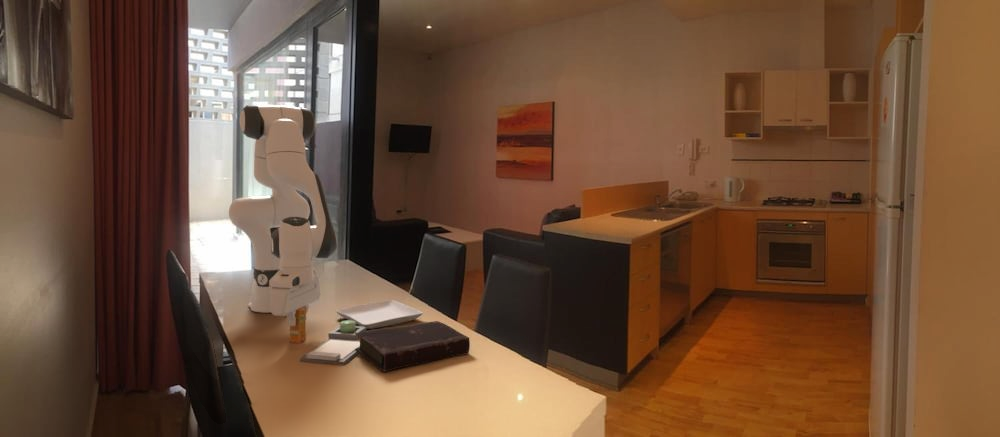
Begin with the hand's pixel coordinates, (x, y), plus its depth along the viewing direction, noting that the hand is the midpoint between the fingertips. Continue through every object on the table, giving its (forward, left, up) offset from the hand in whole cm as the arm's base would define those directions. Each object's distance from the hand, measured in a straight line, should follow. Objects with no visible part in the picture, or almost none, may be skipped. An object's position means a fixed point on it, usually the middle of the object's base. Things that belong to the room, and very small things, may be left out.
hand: (297, 323), depth 155 cm
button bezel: (-6, +12, -5) cm, 15 cm away
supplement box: (0, 0, -5) cm, 5 cm away
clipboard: (+7, +15, -5) cm, 17 cm away
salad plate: (-25, +14, -6) cm, 29 cm away
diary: (+3, +35, -5) cm, 35 cm away
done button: (-7, +12, -4) cm, 14 cm away
